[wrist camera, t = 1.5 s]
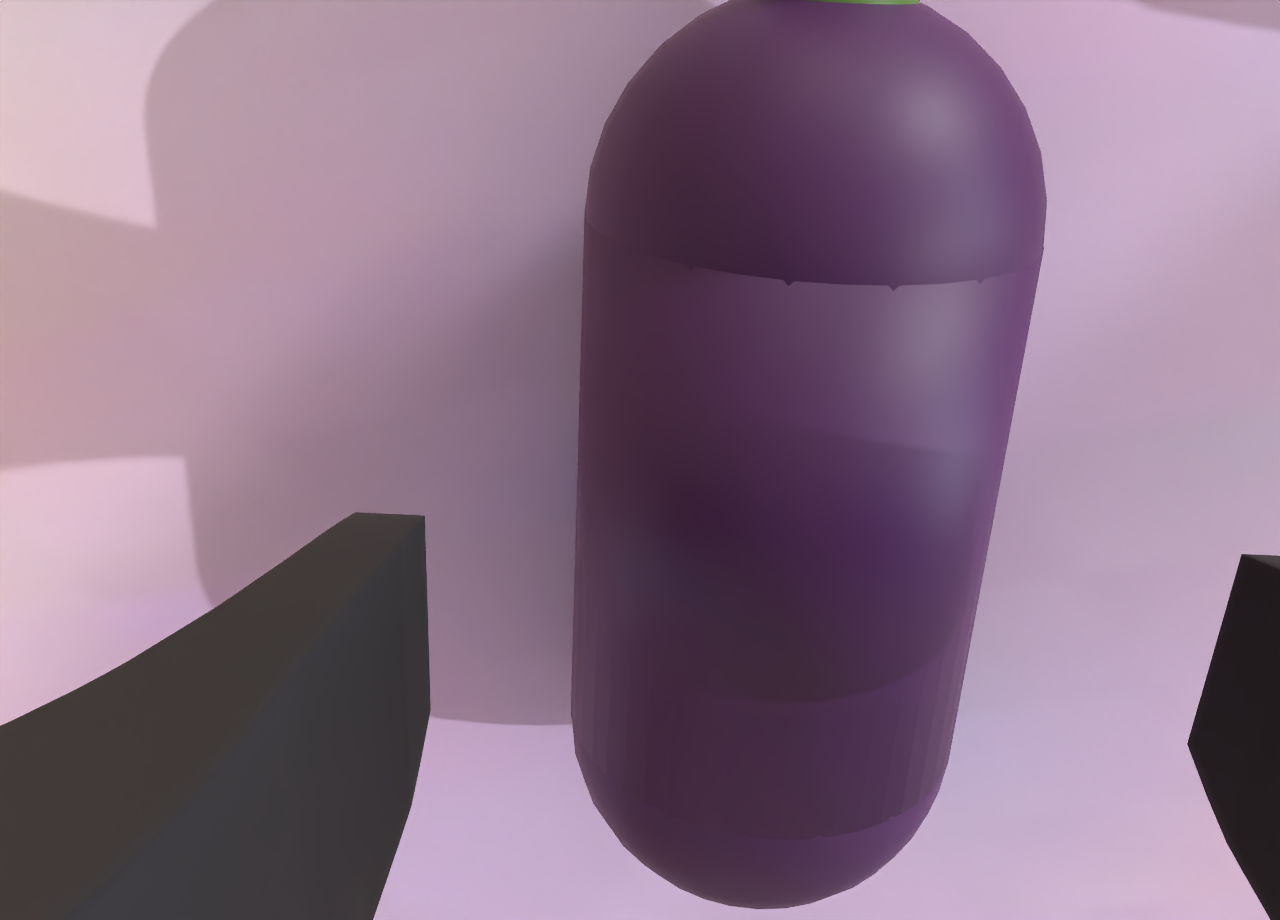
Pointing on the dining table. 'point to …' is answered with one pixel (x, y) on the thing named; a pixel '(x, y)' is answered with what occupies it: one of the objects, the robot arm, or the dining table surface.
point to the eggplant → (793, 433)
